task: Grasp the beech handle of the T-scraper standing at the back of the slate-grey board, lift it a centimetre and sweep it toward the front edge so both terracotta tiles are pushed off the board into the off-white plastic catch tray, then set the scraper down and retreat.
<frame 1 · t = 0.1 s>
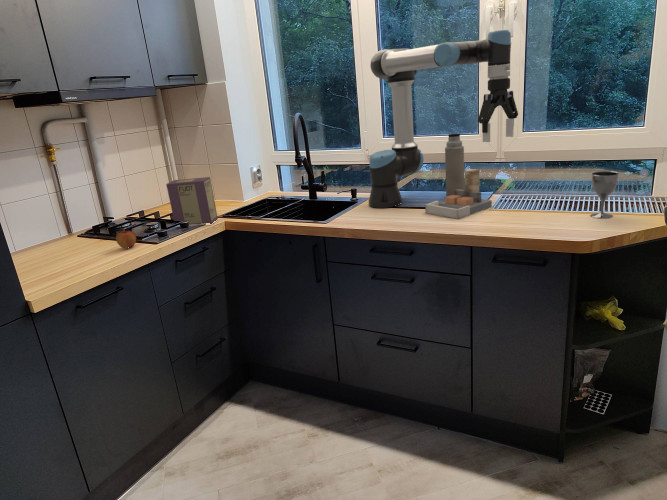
hand: (498, 139, 174), 28 cm above the worktop, fingers open, 13 cm apart
tile b: (465, 204, 189), point 3 cm above the worktop, touching board
tile a: (453, 202, 193), point 3 cm above the worktop, touching board
board: (464, 207, 194), on the worktop
tray: (447, 213, 188), on the worktop
apple: (128, 248, 188), on the worktop
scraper: (472, 199, 196), point 3 cm above the worktop, touching board
wine glass: (601, 216, 166), on the worktop
thermos bottle: (455, 197, 212), on the worktop
box: (197, 224, 214), on the worktop
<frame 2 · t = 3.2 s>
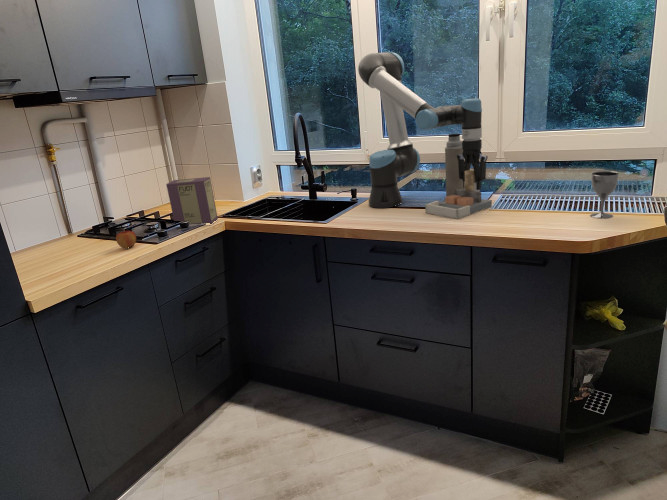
hand: (472, 196, 195), 4 cm above the worktop, fingers closed on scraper, 4 cm apart
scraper: (472, 199, 196), point 3 cm above the worktop, touching board, gripper
everything else where it was.
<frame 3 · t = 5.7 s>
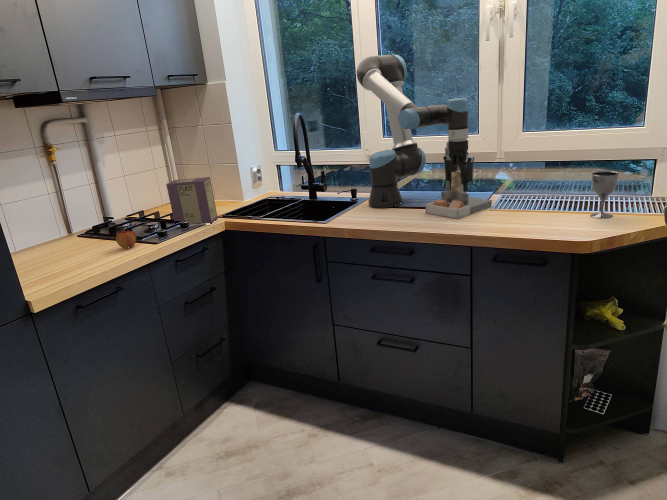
hand: (459, 198, 191), 5 cm above the worktop, fingers closed on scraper, 4 cm apart
tile b: (457, 209, 186), point 2 cm above the worktop, tilted 41°, touching tray
tile a: (442, 205, 190), point 3 cm above the worktop, tilted 98°, touching tray
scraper: (459, 201, 191), point 4 cm above the worktop, touching gripper
everything else where it was.
when the fingers open (4 cm above the worktop, at t = 7.5 s): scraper stays where it is, resting on board, tile b.
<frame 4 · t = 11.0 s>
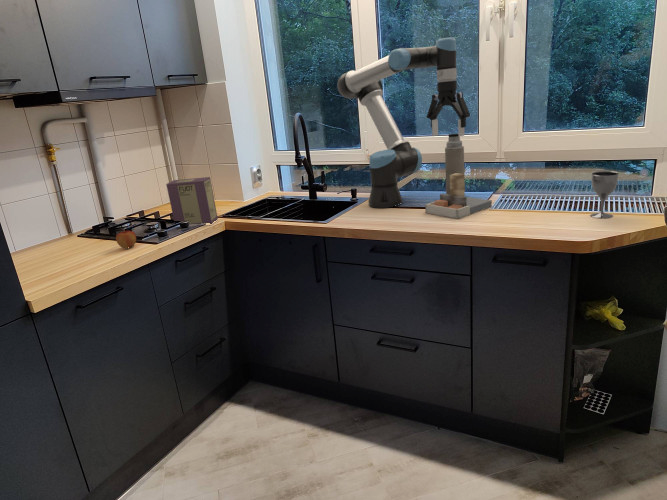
hand: (448, 135, 192), 29 cm above the worktop, fingers open, 13 cm apart
tile b: (455, 212, 186), point 1 cm above the worktop, tilted 8°, touching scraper, tray
tile a: (443, 205, 190), point 3 cm above the worktop, tilted 90°, touching tray
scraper: (457, 203, 191), point 3 cm above the worktop, touching board, tile b
everything else where it was.
at the end: tile a inside the target area on the tray (3.2 cm from its centre), point 2.6 cm above the tray's base; tile b inside the target area on the tray (3.3 cm from its centre), point 0.7 cm above the tray's base; the gripper is holding nothing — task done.
